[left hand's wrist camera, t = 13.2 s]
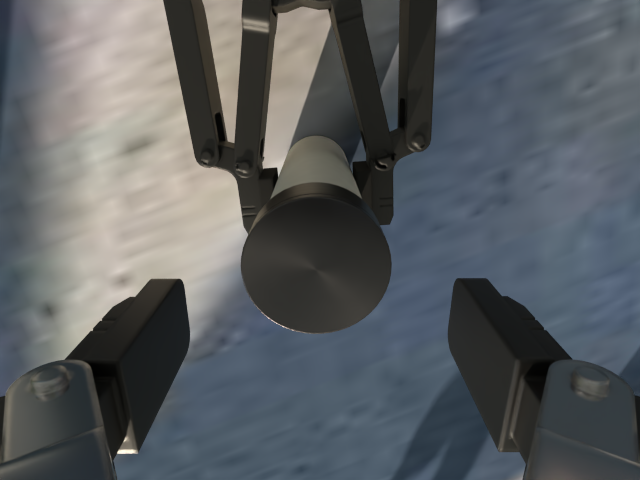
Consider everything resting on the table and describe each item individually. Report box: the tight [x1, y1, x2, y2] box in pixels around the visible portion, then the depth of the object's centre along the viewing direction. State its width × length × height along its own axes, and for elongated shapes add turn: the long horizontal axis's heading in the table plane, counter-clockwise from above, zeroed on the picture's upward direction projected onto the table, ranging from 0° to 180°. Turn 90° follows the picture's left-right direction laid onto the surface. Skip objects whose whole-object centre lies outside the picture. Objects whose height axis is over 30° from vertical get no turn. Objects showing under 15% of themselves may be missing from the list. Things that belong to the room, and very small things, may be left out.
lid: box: [241, 182, 392, 334], centre depth 14 cm, size 5×5×2 cm
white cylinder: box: [271, 136, 362, 199], centre depth 21 cm, size 4×4×16 cm
